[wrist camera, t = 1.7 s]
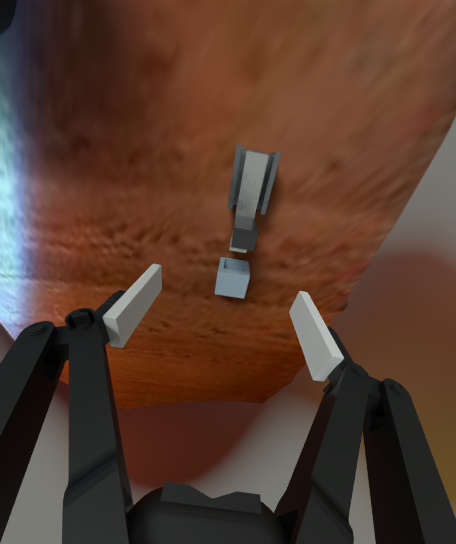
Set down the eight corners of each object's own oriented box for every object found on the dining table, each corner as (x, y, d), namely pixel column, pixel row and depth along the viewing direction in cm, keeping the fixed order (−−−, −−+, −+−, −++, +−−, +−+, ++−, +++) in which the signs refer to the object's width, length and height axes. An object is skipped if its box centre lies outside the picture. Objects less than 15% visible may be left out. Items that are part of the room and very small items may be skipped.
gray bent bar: (246, 152, 29) (249, 143, 19) (265, 156, 29) (279, 149, 19) (230, 243, 37) (226, 270, 27) (245, 246, 37) (247, 273, 27)
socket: (221, 256, 40) (217, 270, 35) (248, 261, 40) (250, 276, 35) (217, 277, 43) (214, 293, 38) (243, 281, 43) (244, 298, 38)
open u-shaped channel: (237, 148, 29) (236, 144, 25) (274, 155, 30) (281, 152, 25) (229, 203, 34) (227, 208, 29) (261, 209, 34) (264, 214, 30)
